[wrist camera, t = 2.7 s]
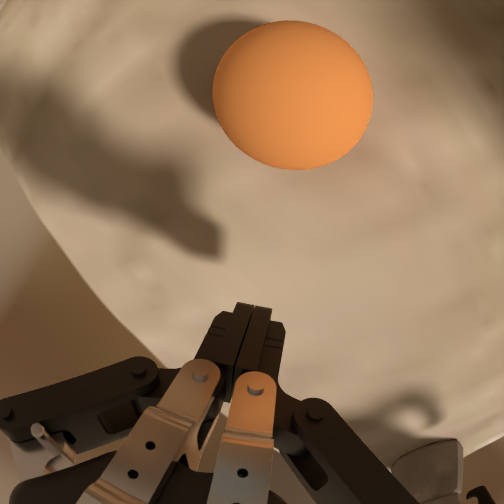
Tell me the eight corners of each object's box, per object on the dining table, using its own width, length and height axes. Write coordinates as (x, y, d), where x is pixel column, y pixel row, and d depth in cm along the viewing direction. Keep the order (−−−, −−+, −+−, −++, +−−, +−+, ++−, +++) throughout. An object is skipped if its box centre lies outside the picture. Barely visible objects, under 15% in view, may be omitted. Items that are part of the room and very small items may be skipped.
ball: (364, 56, 10) (395, 13, 5) (350, 170, 12) (374, 200, 7) (242, 42, 10) (195, -3, 6) (231, 152, 13) (179, 171, 8)
